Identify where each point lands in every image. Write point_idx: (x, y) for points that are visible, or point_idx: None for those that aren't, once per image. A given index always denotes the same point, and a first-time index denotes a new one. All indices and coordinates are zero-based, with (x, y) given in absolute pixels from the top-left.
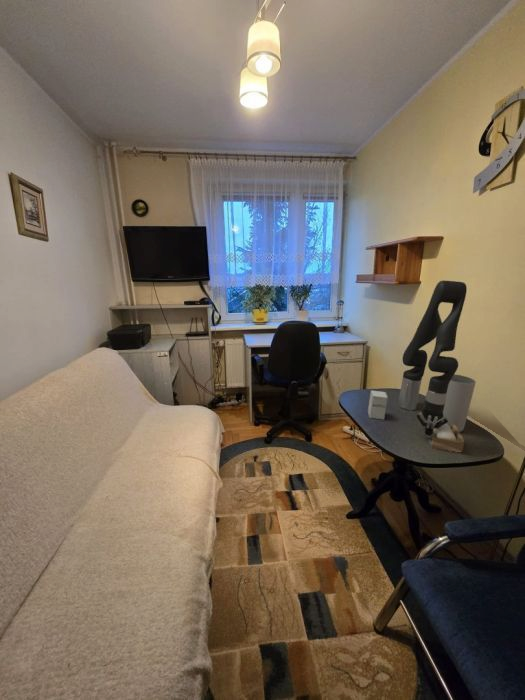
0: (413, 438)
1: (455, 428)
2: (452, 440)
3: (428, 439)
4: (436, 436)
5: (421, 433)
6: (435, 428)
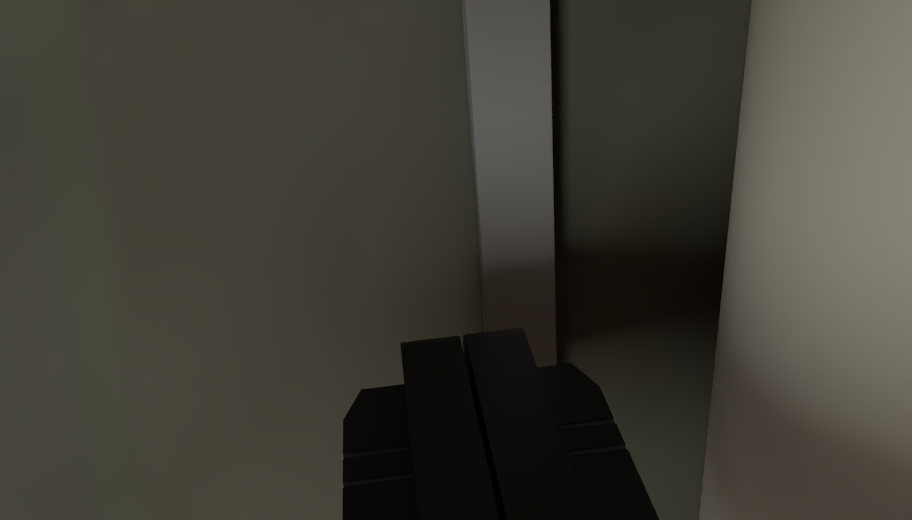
0: (81, 472)
1: None
2: None
3: None
4: None
5: (292, 48)
6: (846, 287)
